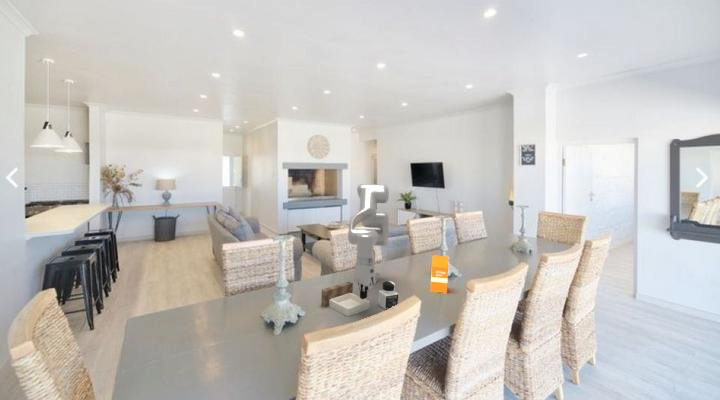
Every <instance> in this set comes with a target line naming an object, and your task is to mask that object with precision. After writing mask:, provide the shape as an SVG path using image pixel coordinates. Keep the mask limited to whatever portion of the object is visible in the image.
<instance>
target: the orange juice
mask: <svg viewBox="0 0 720 400" xmlns="http://www.w3.org/2000/svg"><path fill="white" fill-rule="evenodd" d="M430 274H431V275H430V277H431V278H430V293H437V292H443V293H442V294H448V293H447V292H448V279H449V277H448V276H449V256H447V255H446V256H445V255H435V254H434V255H432V261H431V273H430Z"/></svg>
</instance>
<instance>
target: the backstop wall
mask: <svg viewBox="0 0 720 400" xmlns="http://www.w3.org/2000/svg"><path fill="white" fill-rule="evenodd" d="M353 287H354V283H353V282H351V281H346V282H343V283H339V284H337V285H333V286H329V287H326V288H323V289H321V299H320V300H321V302H320V303H321V304H320V305H321V307H324V308H327V307H329V299H332V298H335V297H338V296H342V295H345V294H348V293H352V294H354V293H353V289H354V288H353Z"/></svg>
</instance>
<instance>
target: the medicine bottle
mask: <svg viewBox="0 0 720 400" xmlns="http://www.w3.org/2000/svg"><path fill="white" fill-rule="evenodd" d="M395 287H396V284H395V282H393V281H390V280H389V281H384V282H382V287H381V288H382V290H378V300H377V301H378V303H377V304H378V305H379V306H380V307H381V308H383V309H384V310H385V311H386V309H387V310H389V309H388V308H391V307H392V306H395V305H397V304H399V293H398V292H396V291H395V290H396V288H395Z"/></svg>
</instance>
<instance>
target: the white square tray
mask: <svg viewBox="0 0 720 400" xmlns="http://www.w3.org/2000/svg"><path fill="white" fill-rule="evenodd" d="M370 303H371V301H370V300H367V298H365V299H361V298H360V295H356V294H354V293H353V294H352V293H348V294H345V295H342V296H338V297H335V298H332V299H329V306H328V307H329V308H331V309H332V310H334V311H337V312H338V313H340V314H342V315H344V316H346V317H350V316H351V317H352V316H353V315H356V314H359V313H362V312H364V311H365V310H368V309H370V306H371V305H370Z"/></svg>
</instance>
